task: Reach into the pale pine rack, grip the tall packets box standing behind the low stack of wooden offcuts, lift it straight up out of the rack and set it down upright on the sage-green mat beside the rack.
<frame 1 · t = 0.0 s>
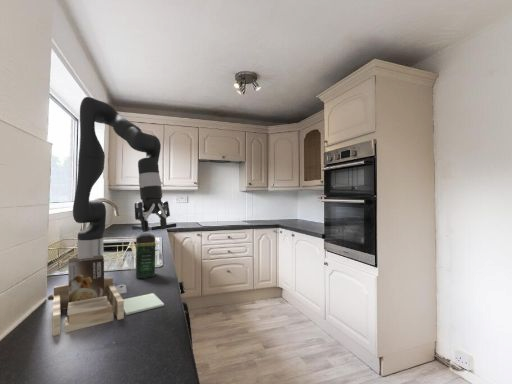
hand: (155, 230, 97), 22 cm above the counter, tool pointing down, fingers open, 8 cm apart
coffee jar: (145, 276, 117), on the counter
pine rack: (86, 311, 80), on the counter
kitchen cleaver: (89, 296, 94), on the counter
offcut stack: (88, 320, 75), resting in pine rack
sage mat: (140, 304, 86), on the counter
coffee box: (86, 312, 80), resting in pine rack
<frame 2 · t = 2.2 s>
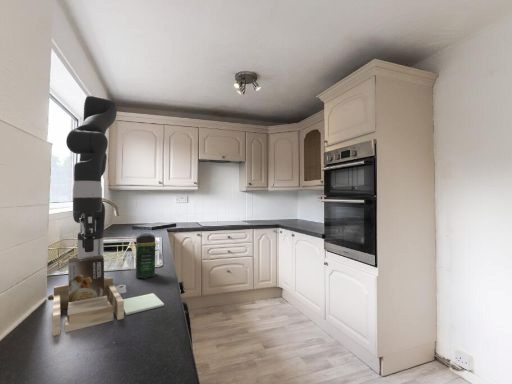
hand: (87, 249, 81), 18 cm above the counter, tool pointing down, fingers open, 8 cm apart
nothing on the counter moved.
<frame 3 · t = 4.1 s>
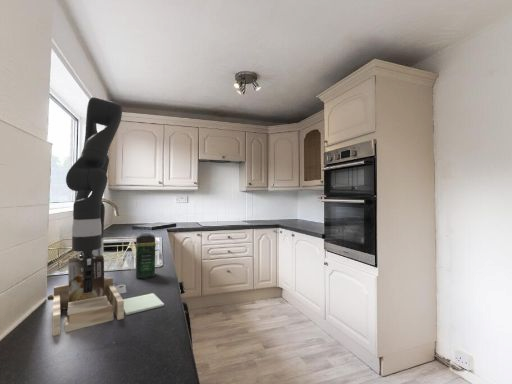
hand: (86, 288, 81), 7 cm above the counter, tool pointing down, fingers closed on coffee box, 6 cm apart
coffee box: (86, 312, 80), resting in pine rack, touching gripper
everything else where it was.
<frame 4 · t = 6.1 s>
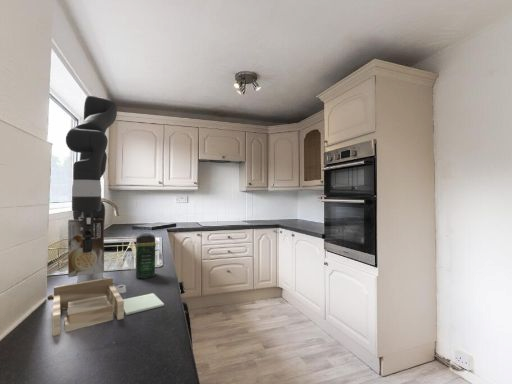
hand: (86, 250, 81), 18 cm above the counter, tool pointing down, fingers closed on coffee box, 6 cm apart
coffee box: (86, 273, 81), point 11 cm above the counter, touching gripper
everything else where it was.
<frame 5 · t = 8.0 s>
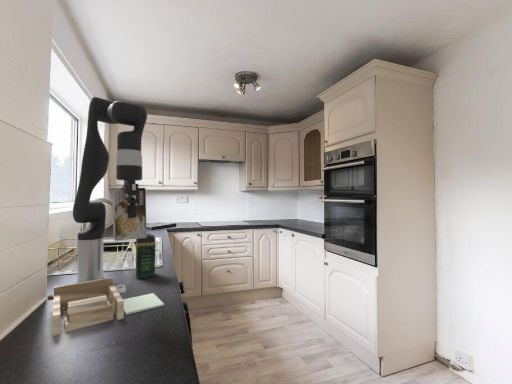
hand: (129, 217, 85), 28 cm above the counter, tool pointing down, fingers closed on coffee box, 6 cm apart
coffee box: (129, 239, 85), point 21 cm above the counter, touching gripper
everything else where it was.
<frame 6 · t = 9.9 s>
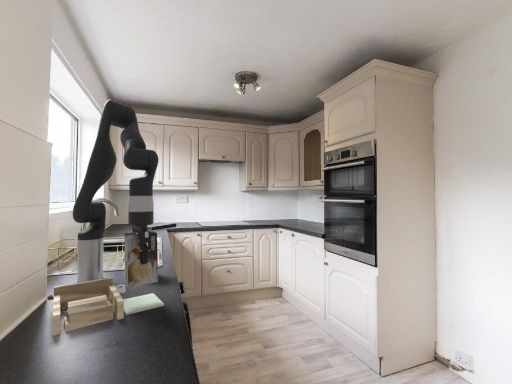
hand: (141, 261, 86), 14 cm above the counter, tool pointing down, fingers closed on coffee box, 6 cm apart
coffee box: (141, 283, 86), point 7 cm above the counter, touching gripper
everything else where it was.
when the fingers open (9 cm above the counter, at t = 11.8 s): coffee box drops 2 cm, resting on sage mat.
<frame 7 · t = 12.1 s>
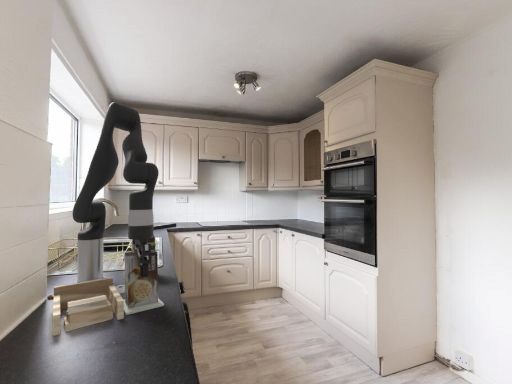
hand: (140, 274, 86), 10 cm above the counter, tool pointing down, fingers open, 8 cm apart
coffee box: (141, 302, 86), resting on sage mat
everything else where it was.
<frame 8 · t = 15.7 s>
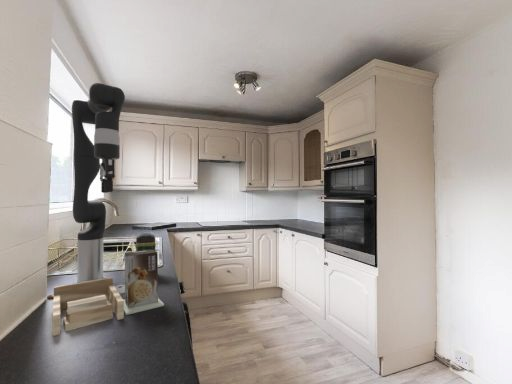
hand: (106, 192, 90), 36 cm above the counter, tool pointing down, fingers open, 8 cm apart
at the end: coffee box inside the target area on the sage mat (0.1 cm from its centre), point 0.4 cm above the sage mat's base; coffee box tilted 0°; offcut stack moved 1.2 cm from its start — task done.
